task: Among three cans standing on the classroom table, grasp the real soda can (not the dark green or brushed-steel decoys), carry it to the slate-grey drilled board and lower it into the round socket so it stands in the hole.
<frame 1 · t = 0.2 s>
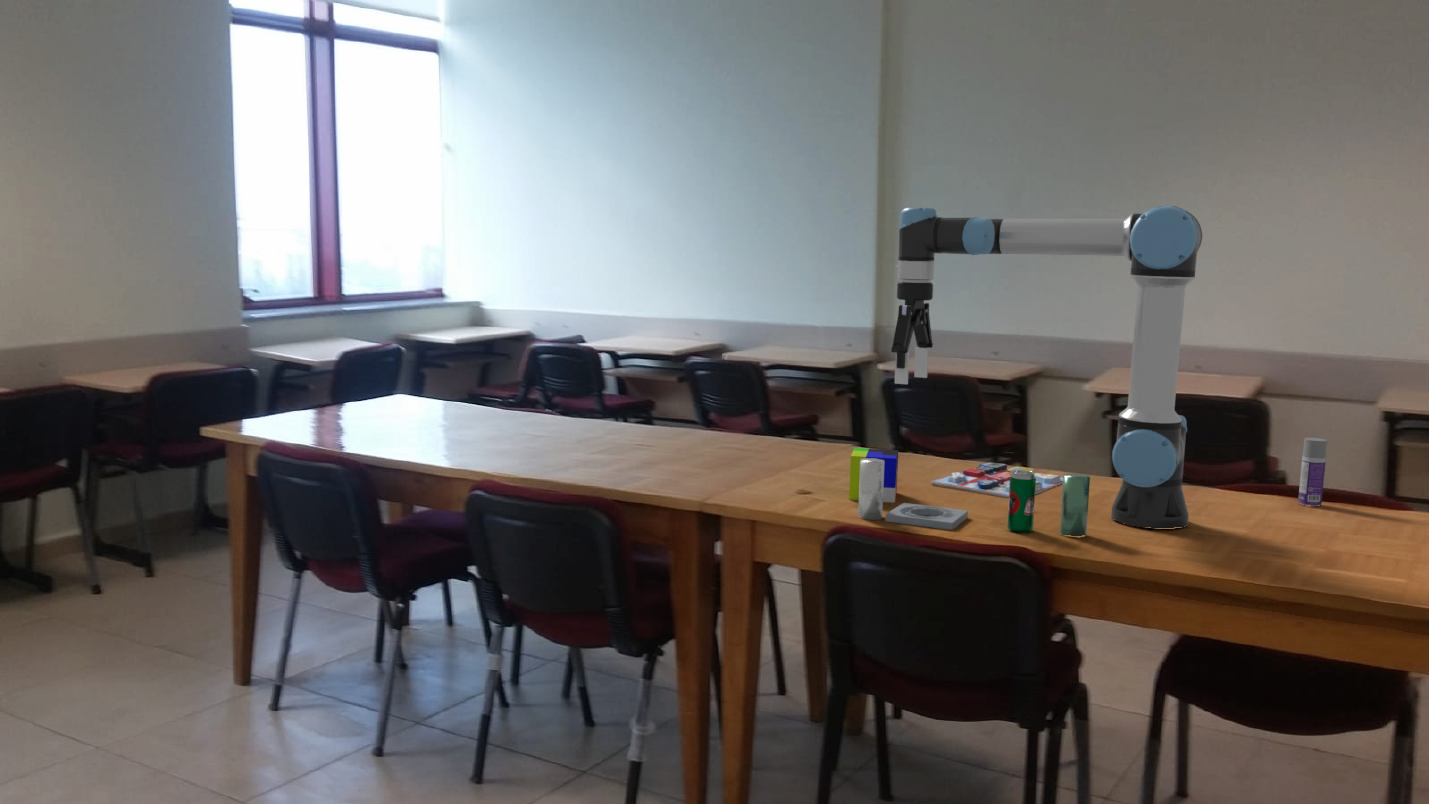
hand: (911, 380, 246), 28 cm above the table, fingers open, 13 cm apart
puzzle toy: (873, 497, 259), on the table
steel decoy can: (870, 516, 239), on the table
container: (1309, 505, 258), on the table
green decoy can: (1072, 535, 227), on the table
socket board: (926, 519, 238), on the table
soda can: (1019, 531, 230), on the table
puzzle board: (1002, 485, 276), on the table
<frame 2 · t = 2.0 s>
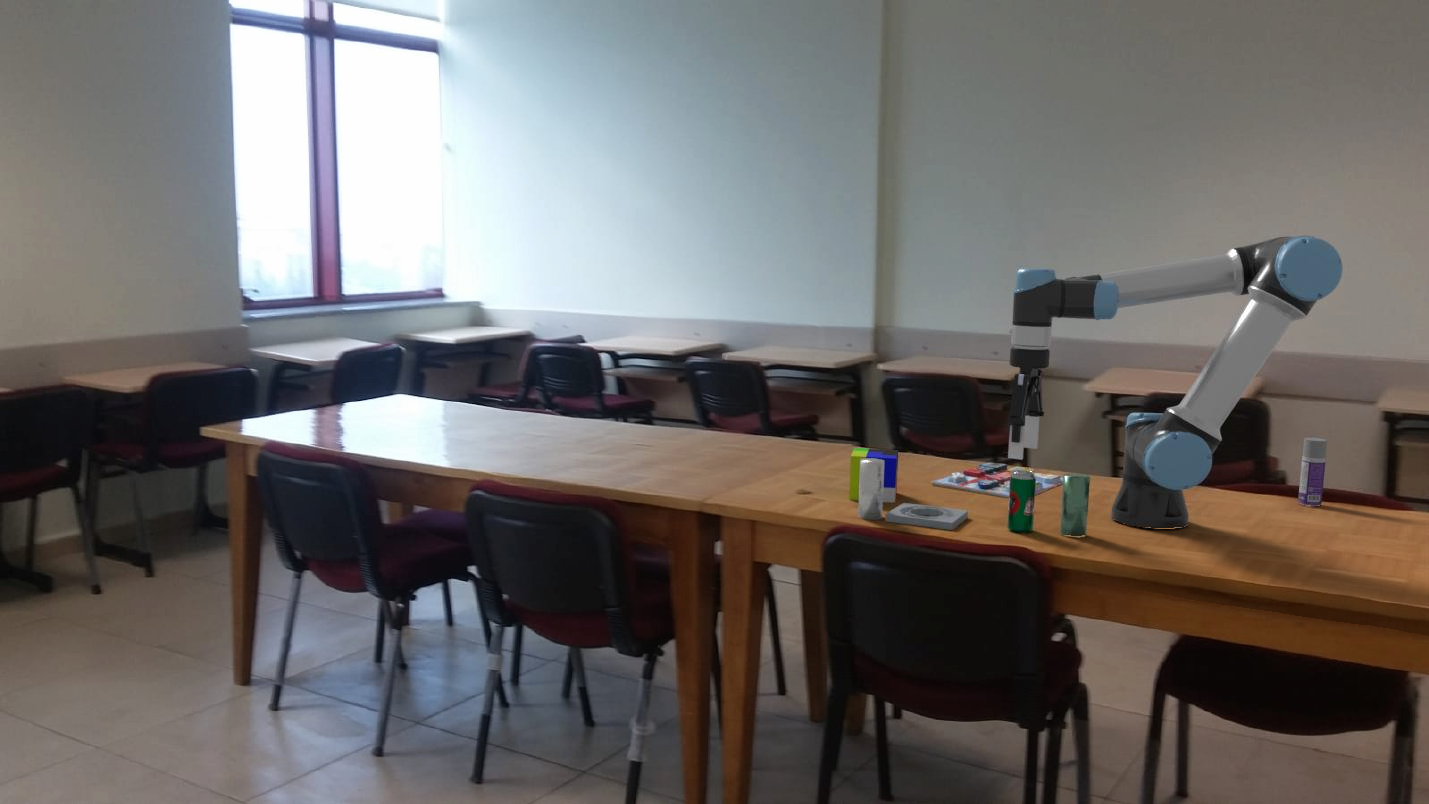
hand: (1023, 453, 228), 16 cm above the table, fingers open, 13 cm apart
nothing on the table moved.
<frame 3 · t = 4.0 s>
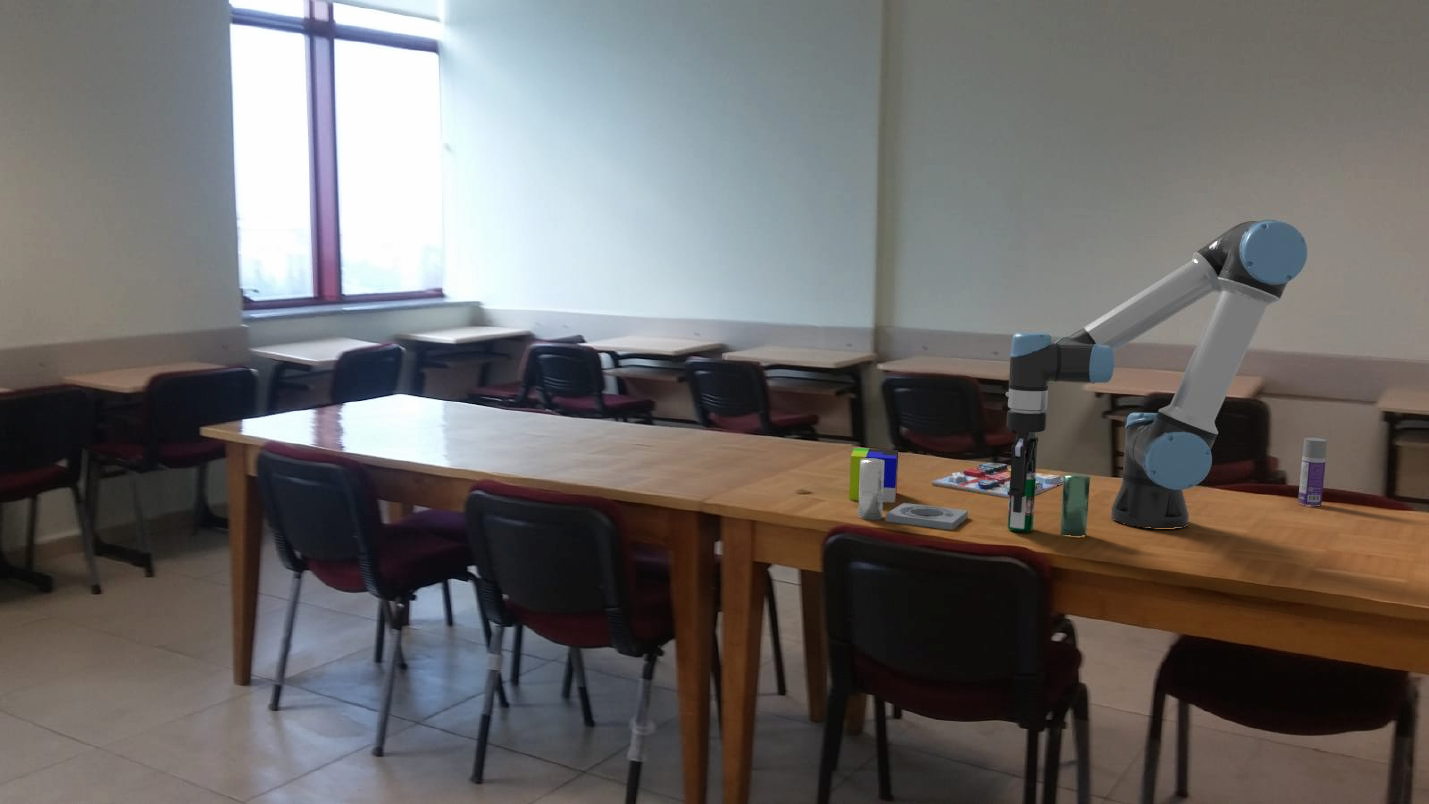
hand: (1020, 524, 230), 1 cm above the table, fingers closed on soda can, 5 cm apart
soda can: (1019, 531, 230), on the table, touching gripper
everything else where it was.
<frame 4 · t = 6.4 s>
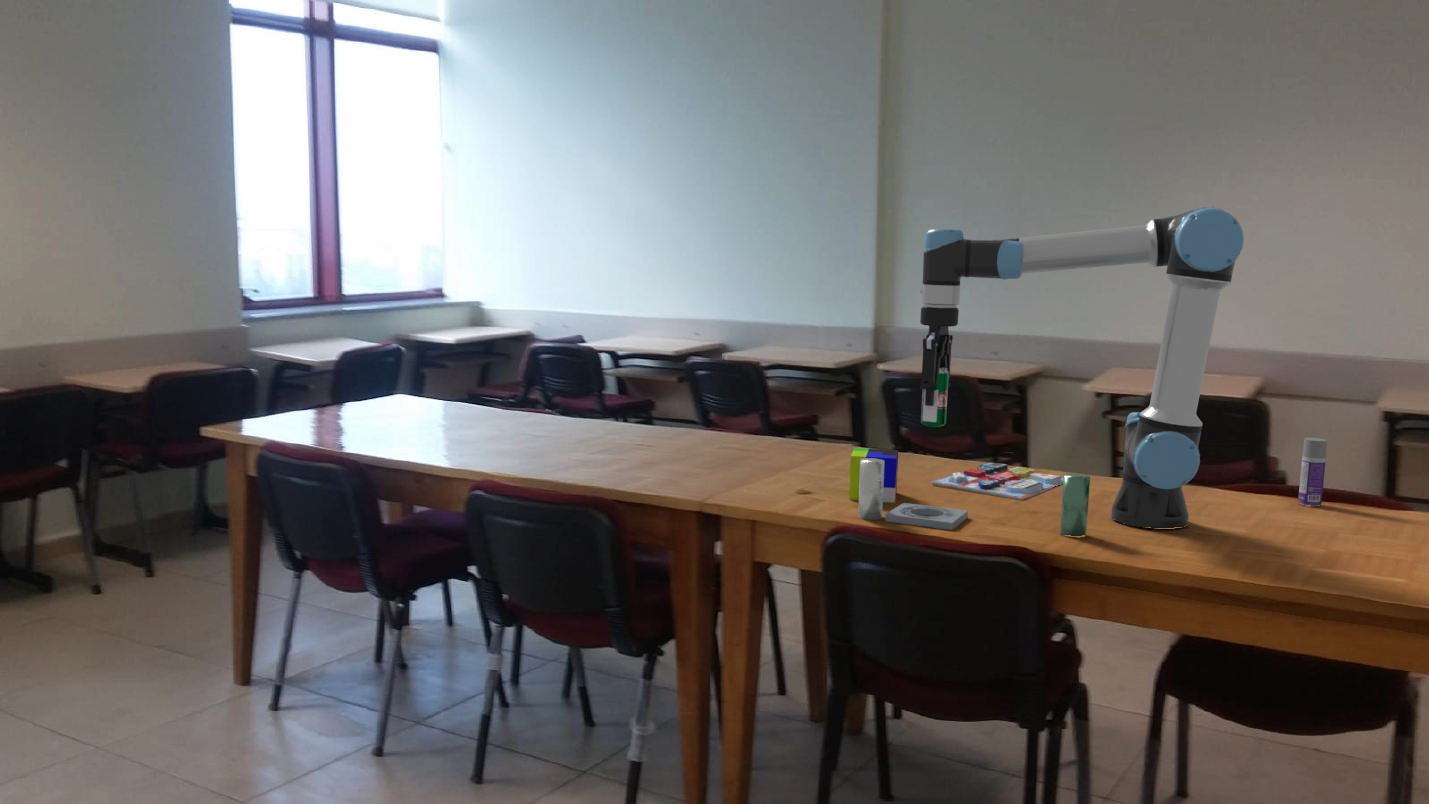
hand: (933, 419, 235), 21 cm above the table, fingers closed on soda can, 5 cm apart
soda can: (933, 426, 235), point 20 cm above the table, touching gripper
everything else where it was.
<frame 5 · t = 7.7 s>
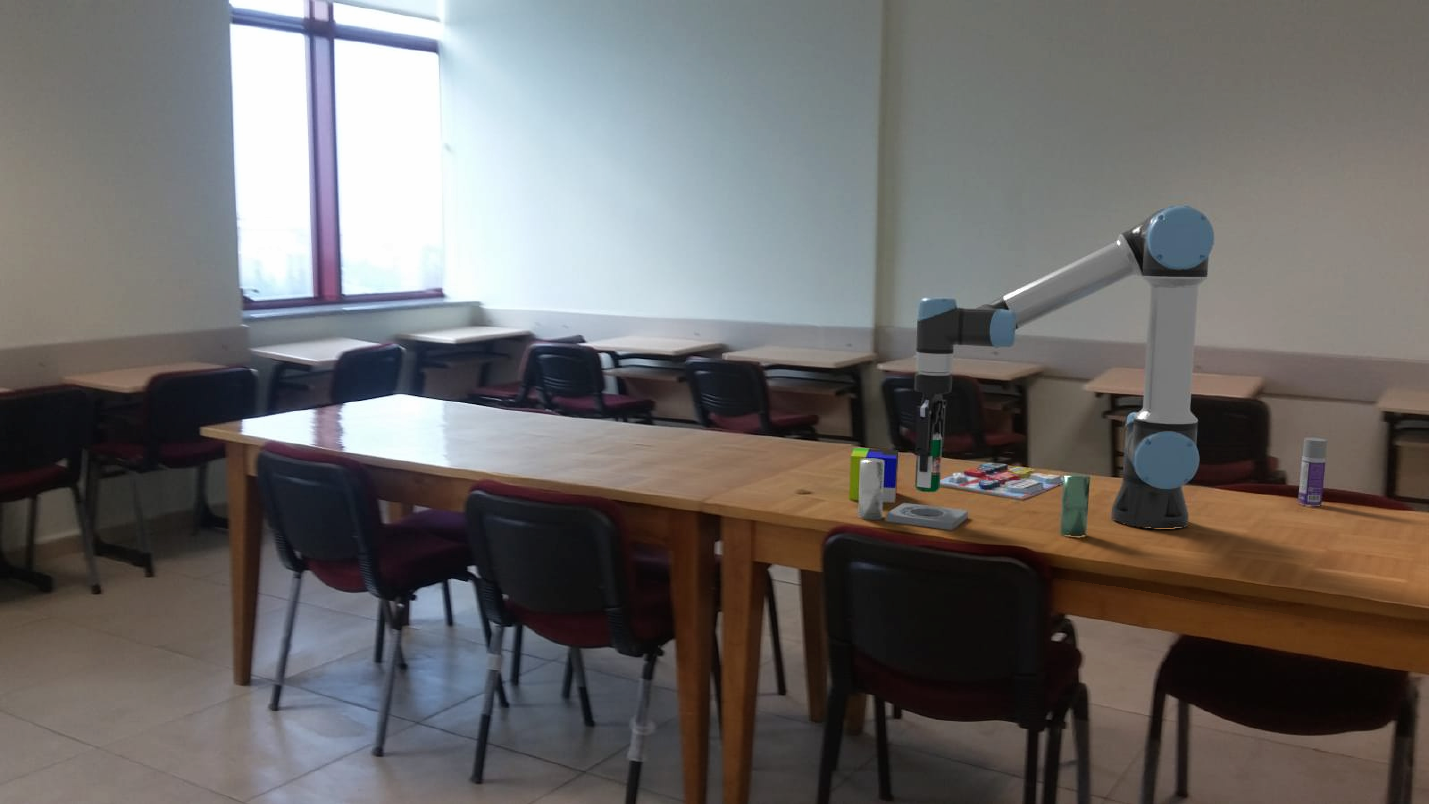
hand: (927, 484, 237), 7 cm above the table, fingers closed on soda can, 5 cm apart
soda can: (927, 491, 237), point 6 cm above the table, touching gripper
everything else where it was.
when the fingers open (3 cm above the table, at t = 8.9 s): soda can drops 2 cm, resting in socket board.
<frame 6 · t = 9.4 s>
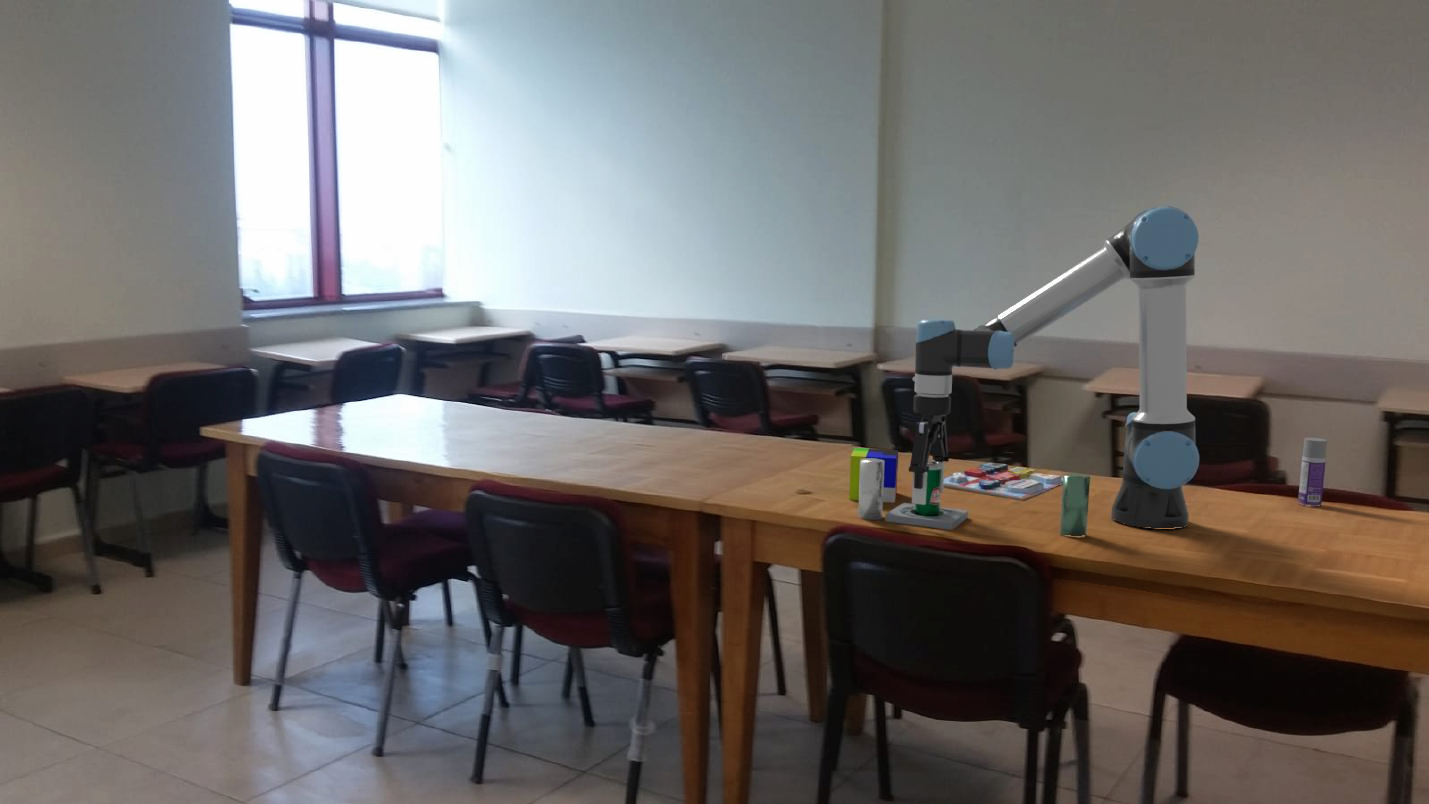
hand: (927, 497, 237), 5 cm above the table, fingers open, 12 cm apart
soda can: (926, 520, 238), resting in socket board
everything else where it was.
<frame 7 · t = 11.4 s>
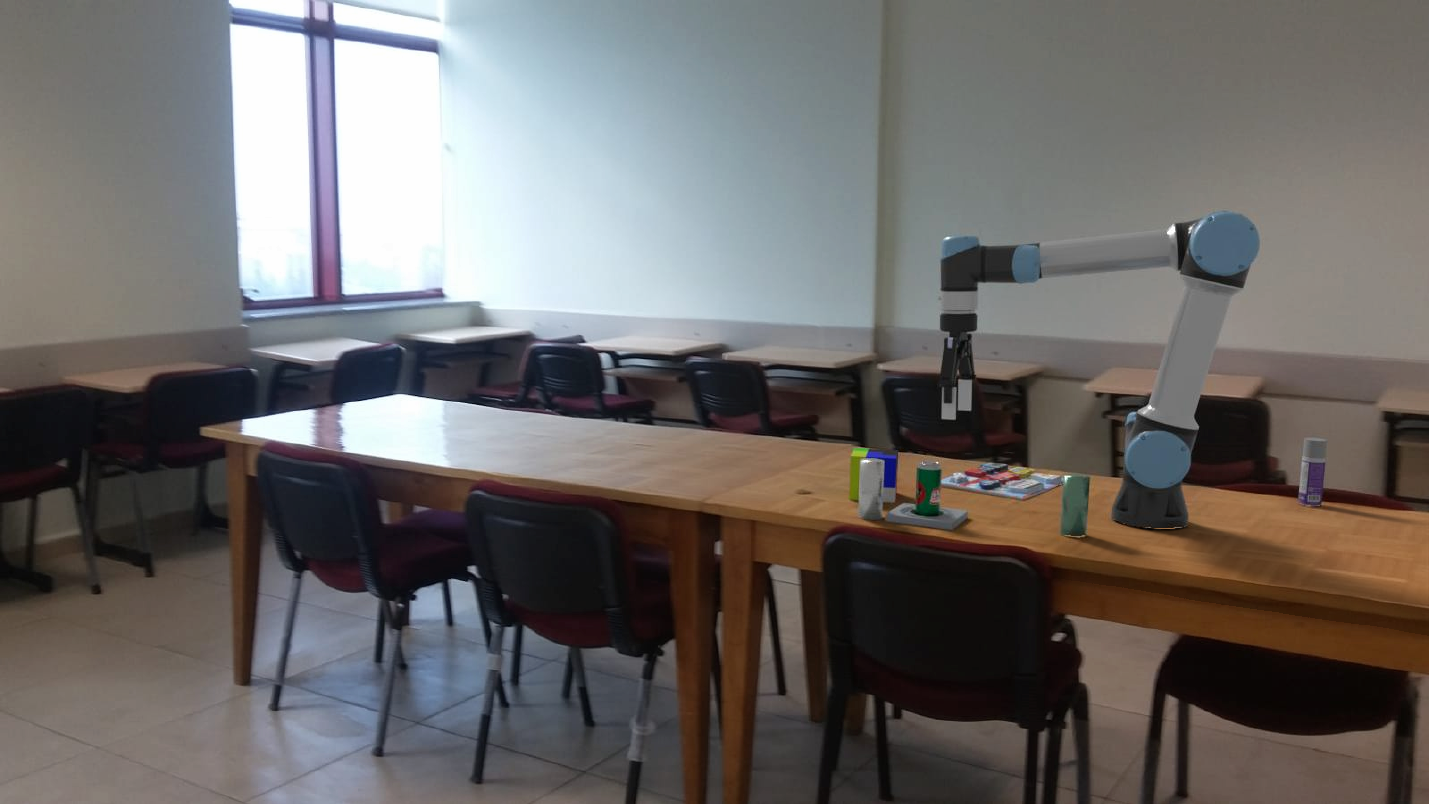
hand: (956, 414, 237), 22 cm above the table, fingers open, 13 cm apart
nothing on the table moved.
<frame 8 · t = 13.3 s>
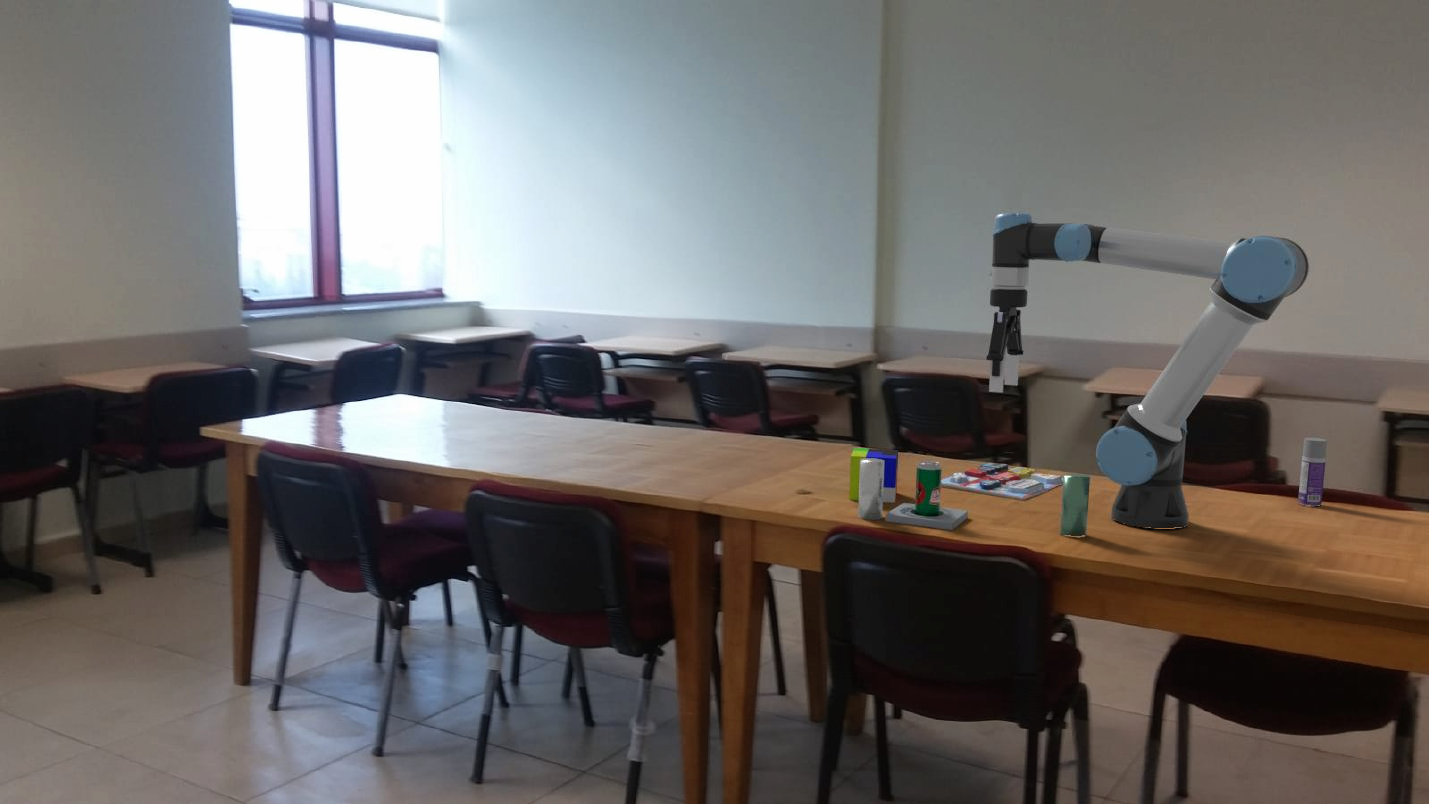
hand: (1003, 388, 242), 27 cm above the table, fingers open, 13 cm apart
nothing on the table moved.
at the end: soda can 0.0 cm off-centre in the socket board, point 0.0 cm above the socket board's base; soda can tilted 0°; soda can touching table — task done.
